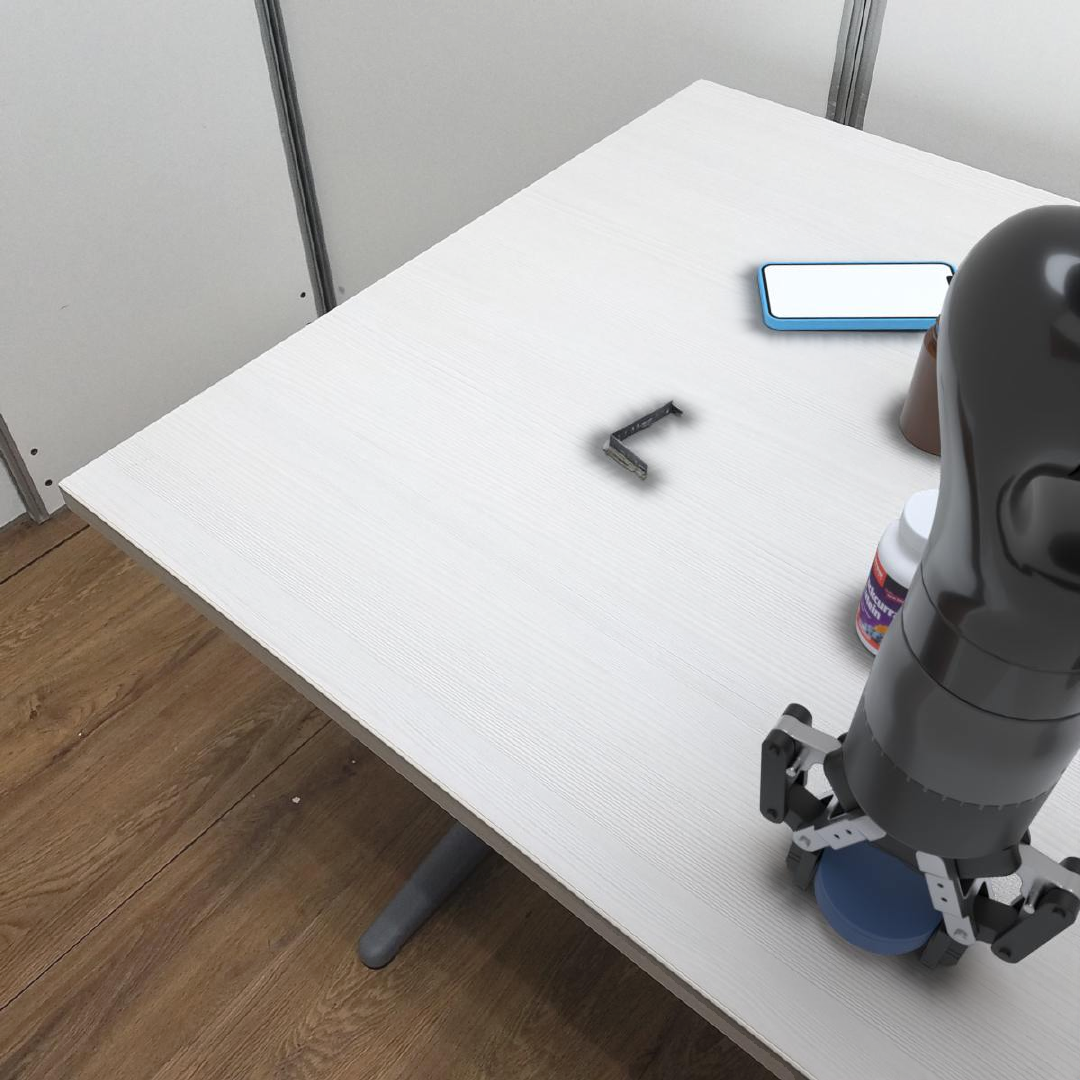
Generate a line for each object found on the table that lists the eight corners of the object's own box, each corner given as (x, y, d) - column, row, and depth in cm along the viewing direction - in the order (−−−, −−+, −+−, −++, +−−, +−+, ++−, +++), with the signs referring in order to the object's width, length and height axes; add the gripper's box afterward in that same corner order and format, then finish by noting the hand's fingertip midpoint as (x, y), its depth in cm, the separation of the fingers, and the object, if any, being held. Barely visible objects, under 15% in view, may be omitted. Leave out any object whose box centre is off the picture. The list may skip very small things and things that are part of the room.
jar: (995, 420, 78) (1033, 319, 72) (968, 468, 75) (1005, 366, 69) (916, 391, 80) (947, 291, 74) (886, 436, 77) (915, 335, 71)
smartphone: (757, 262, 90) (952, 261, 89) (756, 275, 91) (949, 273, 90) (767, 320, 85) (974, 319, 84) (765, 333, 85) (970, 332, 85)
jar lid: (934, 842, 55) (943, 825, 54) (951, 961, 51) (962, 945, 50) (810, 831, 55) (816, 813, 54) (818, 948, 52) (825, 932, 50)
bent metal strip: (676, 469, 73) (598, 459, 74) (673, 484, 74) (597, 474, 75) (684, 397, 78) (612, 388, 79) (682, 412, 79) (611, 404, 80)
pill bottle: (834, 616, 67) (868, 499, 60) (907, 583, 68) (949, 465, 61) (894, 684, 64) (938, 569, 56) (969, 648, 65) (1021, 531, 58)
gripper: (747, 684, 43) (699, 886, 56) (1136, 897, 37) (985, 1069, 50) (836, 562, 47) (772, 776, 60) (1198, 738, 42) (1044, 934, 54)
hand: (870, 909), depth 55 cm, fingers open, 6 cm apart
